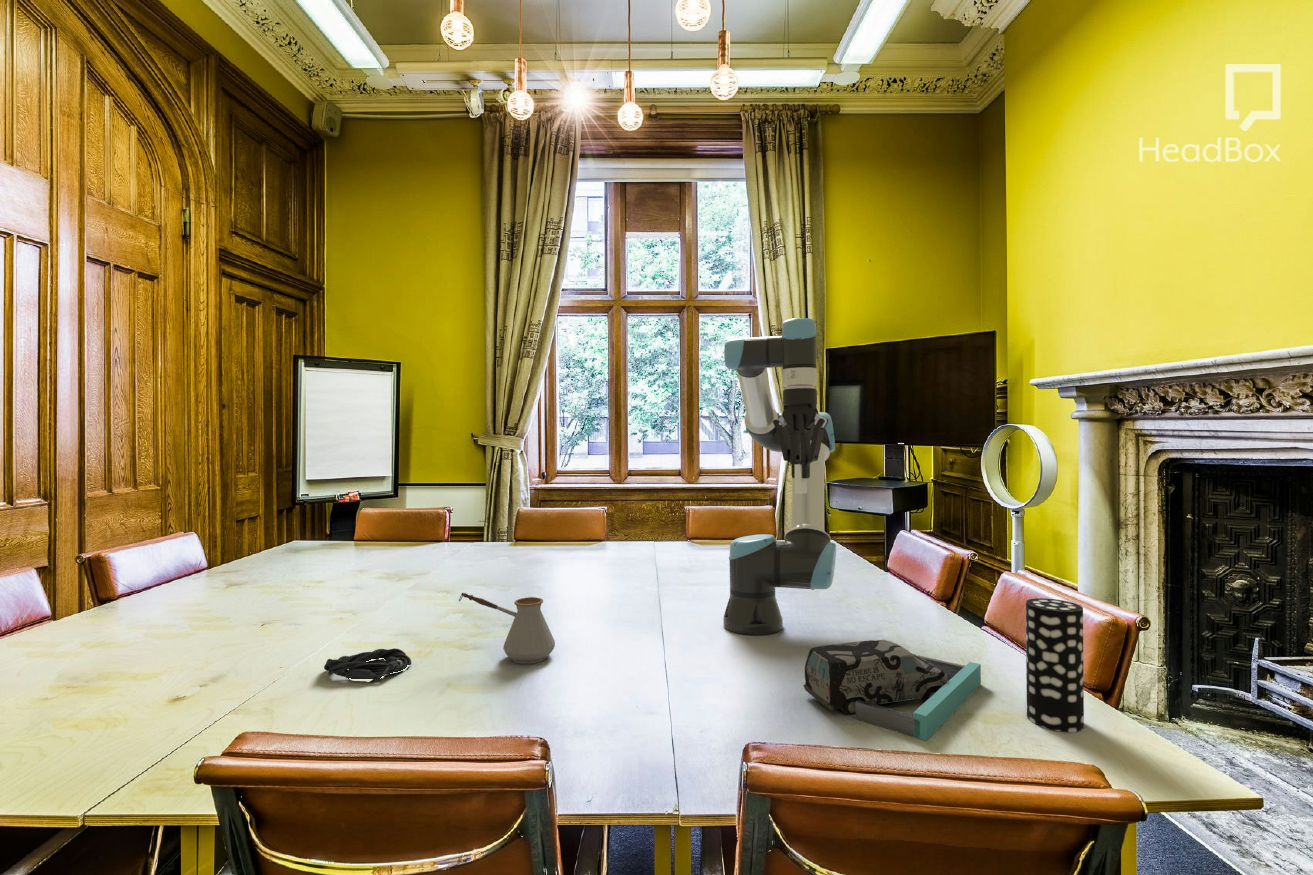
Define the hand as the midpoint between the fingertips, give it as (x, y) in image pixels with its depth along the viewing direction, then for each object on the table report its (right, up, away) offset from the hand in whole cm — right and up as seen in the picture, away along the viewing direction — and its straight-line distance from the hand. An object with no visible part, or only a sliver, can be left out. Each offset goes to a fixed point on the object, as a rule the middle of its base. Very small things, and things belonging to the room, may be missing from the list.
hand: (800, 492), depth 142 cm
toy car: (+8, -37, -24) cm, 45 cm away
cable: (-95, -38, -6) cm, 102 cm away
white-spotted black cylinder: (+36, -36, -34) cm, 61 cm away
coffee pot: (-66, -38, 0) cm, 76 cm away
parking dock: (+18, -36, -26) cm, 48 cm away
